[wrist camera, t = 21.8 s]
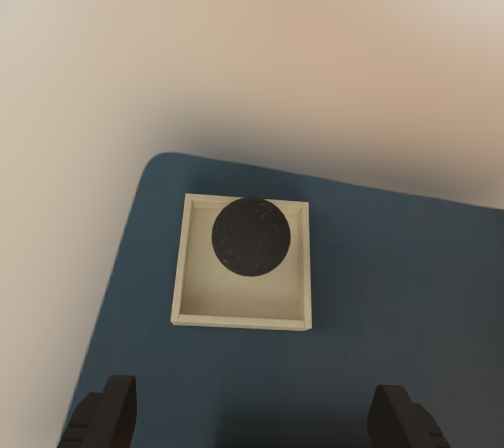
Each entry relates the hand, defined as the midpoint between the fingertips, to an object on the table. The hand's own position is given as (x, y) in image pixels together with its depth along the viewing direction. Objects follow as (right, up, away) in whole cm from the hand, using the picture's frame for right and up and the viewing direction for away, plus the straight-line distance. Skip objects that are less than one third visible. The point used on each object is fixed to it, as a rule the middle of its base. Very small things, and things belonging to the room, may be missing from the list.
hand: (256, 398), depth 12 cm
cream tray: (-1, +2, +21) cm, 21 cm away
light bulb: (-1, +2, +20) cm, 20 cm away
